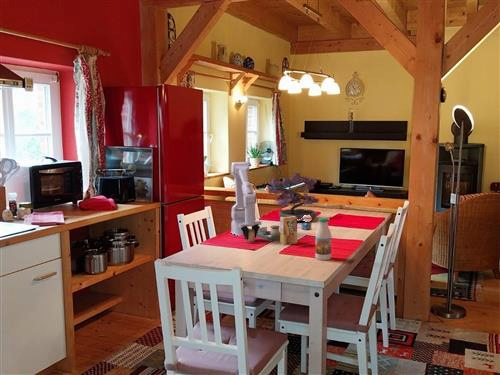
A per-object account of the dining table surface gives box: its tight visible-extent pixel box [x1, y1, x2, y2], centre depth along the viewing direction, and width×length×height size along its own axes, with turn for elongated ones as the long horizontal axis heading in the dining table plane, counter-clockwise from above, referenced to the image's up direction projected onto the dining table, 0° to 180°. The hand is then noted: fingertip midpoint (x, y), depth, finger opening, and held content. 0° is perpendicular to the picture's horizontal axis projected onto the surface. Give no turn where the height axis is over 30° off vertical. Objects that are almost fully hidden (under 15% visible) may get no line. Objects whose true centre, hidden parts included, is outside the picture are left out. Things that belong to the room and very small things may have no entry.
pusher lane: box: [256, 230, 280, 242], centre depth 282 cm, size 22×12×4 cm, turn 36°
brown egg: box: [270, 225, 280, 237], centre depth 277 cm, size 5×5×7 cm
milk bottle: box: [314, 217, 332, 261], centre depth 236 cm, size 8×8×20 cm
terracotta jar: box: [245, 228, 256, 243], centre depth 273 cm, size 5×5×7 cm
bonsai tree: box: [267, 172, 320, 221], centre depth 335 cm, size 35×27×32 cm
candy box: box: [279, 216, 298, 246], centre depth 265 cm, size 9×4×15 cm, turn 116°
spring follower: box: [258, 226, 268, 235], centre depth 288 cm, size 4×6×4 cm, turn 126°
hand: (250, 238), depth 273 cm, fingers closed on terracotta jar, 5 cm apart
